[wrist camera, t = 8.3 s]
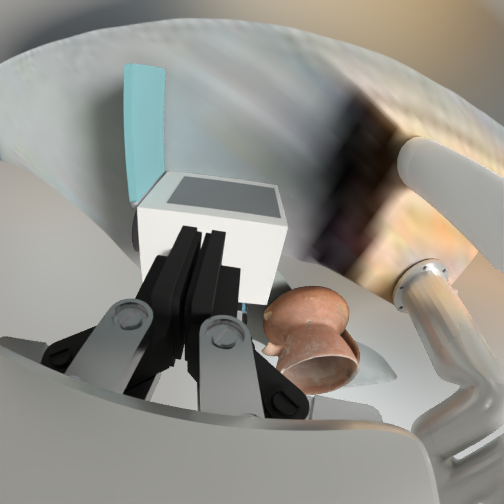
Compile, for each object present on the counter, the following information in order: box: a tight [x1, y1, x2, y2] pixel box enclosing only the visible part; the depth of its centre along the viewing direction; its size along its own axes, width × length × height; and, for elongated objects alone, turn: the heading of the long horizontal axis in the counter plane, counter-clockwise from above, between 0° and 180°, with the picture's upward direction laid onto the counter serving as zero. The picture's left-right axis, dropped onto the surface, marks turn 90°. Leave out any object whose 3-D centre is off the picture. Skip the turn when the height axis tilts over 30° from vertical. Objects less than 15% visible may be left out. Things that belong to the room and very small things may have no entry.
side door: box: [124, 63, 166, 208], centre depth 24 cm, size 14×1×10 cm, turn 175°
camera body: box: [132, 171, 288, 305], centre depth 31 cm, size 16×10×12 cm, turn 81°
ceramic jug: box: [262, 286, 360, 395], centre depth 41 cm, size 18×14×14 cm
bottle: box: [397, 136, 504, 273], centre depth 19 cm, size 8×8×30 cm
